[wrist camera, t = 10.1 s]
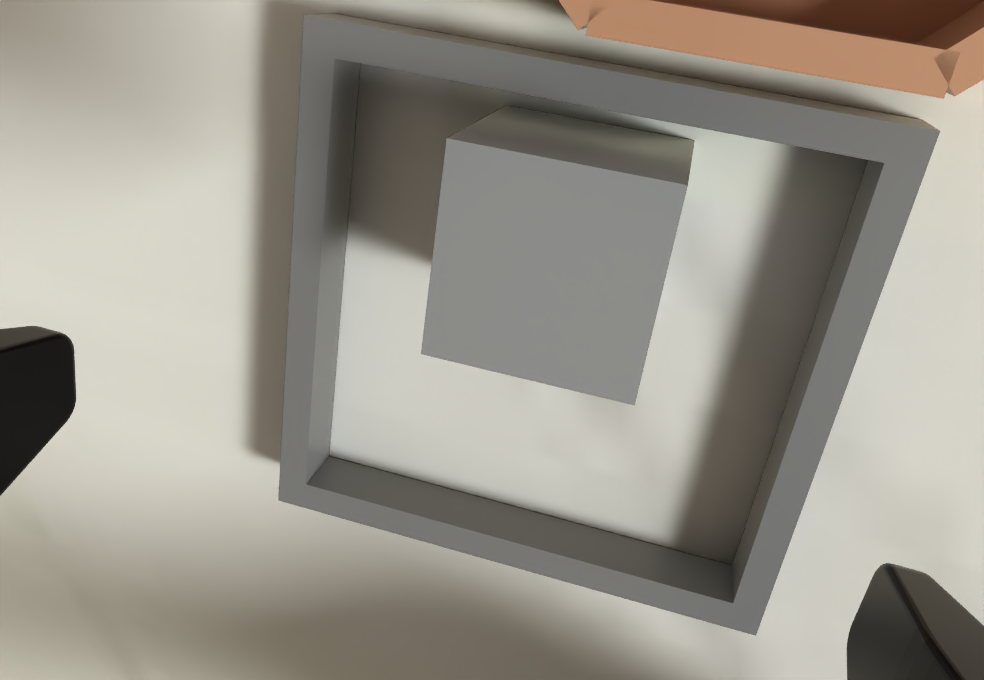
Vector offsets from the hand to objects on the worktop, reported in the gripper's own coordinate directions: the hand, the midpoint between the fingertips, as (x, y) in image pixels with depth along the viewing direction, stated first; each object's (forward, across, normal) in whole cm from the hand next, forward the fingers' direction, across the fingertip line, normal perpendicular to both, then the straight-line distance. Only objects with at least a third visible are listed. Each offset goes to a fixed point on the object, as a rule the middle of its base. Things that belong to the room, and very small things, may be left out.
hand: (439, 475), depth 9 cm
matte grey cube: (+13, 0, 0) cm, 13 cm away
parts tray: (+13, 0, +3) cm, 13 cm away
